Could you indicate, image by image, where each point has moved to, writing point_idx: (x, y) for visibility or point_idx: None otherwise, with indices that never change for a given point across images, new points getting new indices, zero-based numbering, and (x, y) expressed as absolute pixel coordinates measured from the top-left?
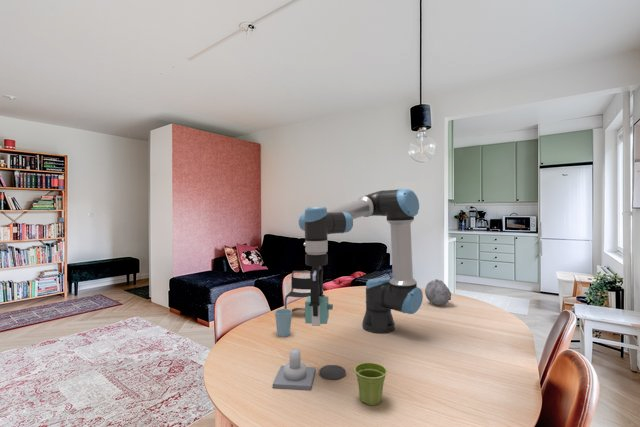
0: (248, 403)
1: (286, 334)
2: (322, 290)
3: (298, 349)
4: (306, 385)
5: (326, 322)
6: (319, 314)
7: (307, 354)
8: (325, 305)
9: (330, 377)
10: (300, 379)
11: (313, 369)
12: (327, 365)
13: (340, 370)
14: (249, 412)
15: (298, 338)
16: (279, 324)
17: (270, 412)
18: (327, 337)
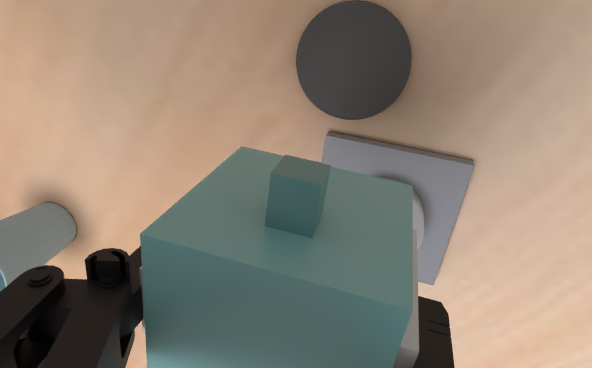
0: (510, 341)
1: (65, 217)
2: (30, 310)
3: None
4: (467, 180)
5: (412, 192)
6: (417, 289)
7: (200, 150)
8: (408, 291)
9: (403, 77)
10: (419, 198)
11: (344, 144)
12: (300, 81)
13: (347, 26)
14: (562, 341)
15: (76, 173)
16: (42, 262)
17: (582, 291)
18: (41, 55)
